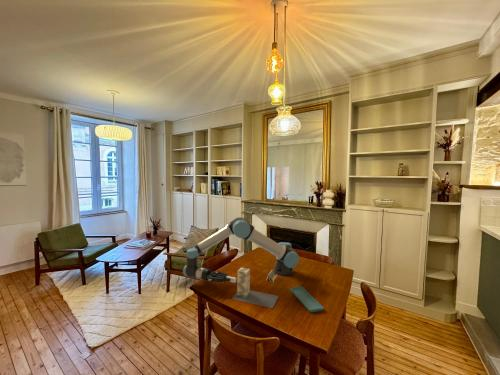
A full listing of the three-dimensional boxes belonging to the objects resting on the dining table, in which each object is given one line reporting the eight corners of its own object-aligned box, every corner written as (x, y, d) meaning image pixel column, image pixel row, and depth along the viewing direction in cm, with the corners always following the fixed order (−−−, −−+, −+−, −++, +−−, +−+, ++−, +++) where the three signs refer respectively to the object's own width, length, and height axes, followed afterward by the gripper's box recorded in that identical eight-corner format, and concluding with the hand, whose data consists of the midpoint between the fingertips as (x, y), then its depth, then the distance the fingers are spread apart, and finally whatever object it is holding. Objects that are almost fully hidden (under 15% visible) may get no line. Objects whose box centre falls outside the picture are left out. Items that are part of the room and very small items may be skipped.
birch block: (237, 296, 139) (237, 271, 139) (241, 291, 145) (241, 267, 144) (246, 298, 137) (246, 272, 136) (249, 293, 143) (250, 268, 142)
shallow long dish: (289, 291, 148) (289, 287, 148) (302, 289, 150) (302, 285, 150) (309, 314, 123) (309, 310, 123) (324, 312, 125) (324, 307, 125)
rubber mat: (231, 299, 136) (231, 298, 136) (240, 288, 149) (240, 288, 149) (272, 308, 127) (272, 308, 127) (278, 296, 140) (278, 296, 140)
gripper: (209, 275, 157) (239, 281, 149) (198, 283, 145) (230, 290, 137) (209, 265, 157) (239, 270, 148) (198, 272, 145) (231, 278, 136)
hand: (235, 280), depth 143 cm, fingers closed
